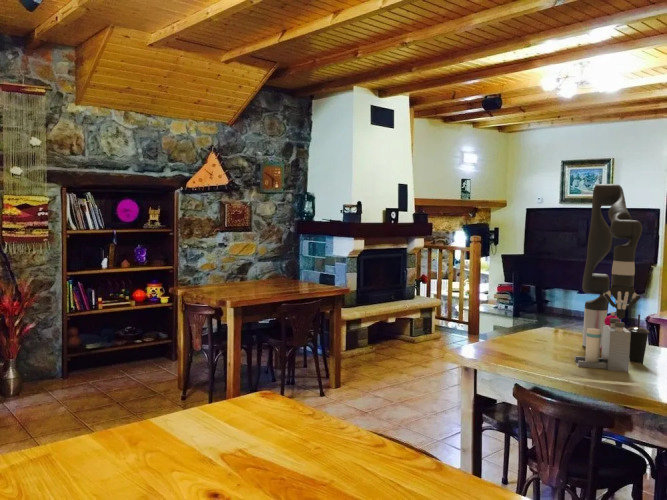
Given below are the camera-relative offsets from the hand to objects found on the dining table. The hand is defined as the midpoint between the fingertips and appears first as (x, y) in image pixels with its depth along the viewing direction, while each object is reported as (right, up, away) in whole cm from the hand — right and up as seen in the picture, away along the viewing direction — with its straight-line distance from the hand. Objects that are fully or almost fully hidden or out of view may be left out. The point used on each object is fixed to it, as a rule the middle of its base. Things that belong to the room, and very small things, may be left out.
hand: (620, 318), depth 211 cm
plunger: (+2, -8, +8) cm, 11 cm away
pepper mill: (+6, -20, +20) cm, 29 cm away
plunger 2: (0, -8, +1) cm, 8 cm away
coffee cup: (-7, -19, +7) cm, 22 cm away
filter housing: (-4, -20, +7) cm, 22 cm away
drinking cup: (+14, -20, +15) cm, 29 cm away
